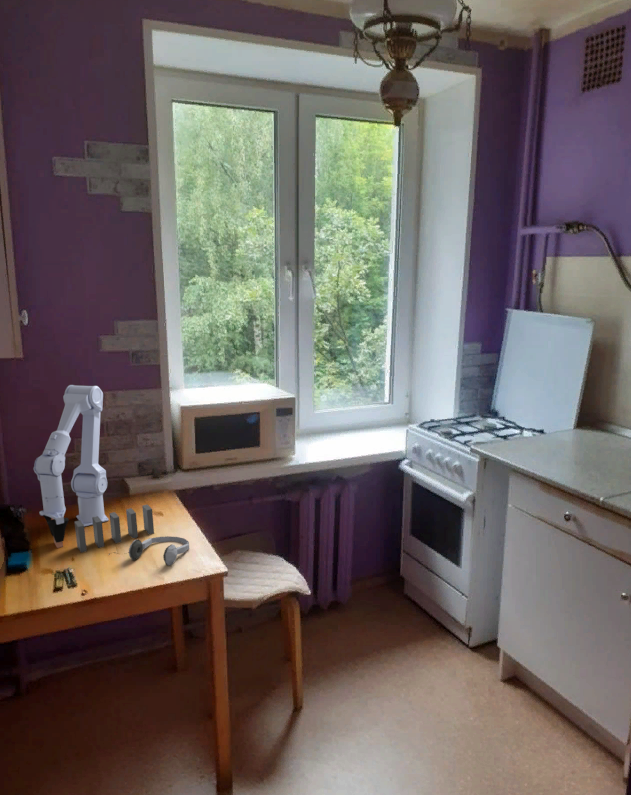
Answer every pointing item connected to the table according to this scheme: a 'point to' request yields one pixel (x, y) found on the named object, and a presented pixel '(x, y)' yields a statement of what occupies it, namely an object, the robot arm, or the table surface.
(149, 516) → the domino
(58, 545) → the domino
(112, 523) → the domino
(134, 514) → the domino
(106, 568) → the table surface
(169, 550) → the headphones
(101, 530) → the domino
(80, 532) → the domino
